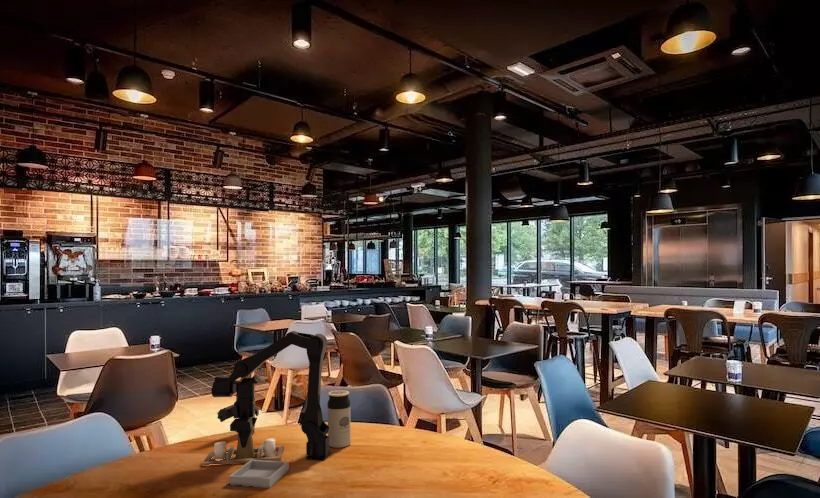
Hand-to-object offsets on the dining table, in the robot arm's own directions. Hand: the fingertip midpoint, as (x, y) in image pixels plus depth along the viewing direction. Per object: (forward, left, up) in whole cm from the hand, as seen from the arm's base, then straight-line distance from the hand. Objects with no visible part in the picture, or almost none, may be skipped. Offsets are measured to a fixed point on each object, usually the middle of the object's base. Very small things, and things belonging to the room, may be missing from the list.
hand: (245, 444), depth 162 cm
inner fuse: (-7, -3, -4) cm, 9 cm away
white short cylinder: (+7, +3, -4) cm, 9 cm away
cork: (0, 0, -4) cm, 4 cm away
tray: (-13, +15, -4) cm, 20 cm away
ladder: (0, 0, -4) cm, 4 cm away
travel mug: (-27, -16, -4) cm, 32 cm away
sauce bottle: (+12, -22, -4) cm, 25 cm away
